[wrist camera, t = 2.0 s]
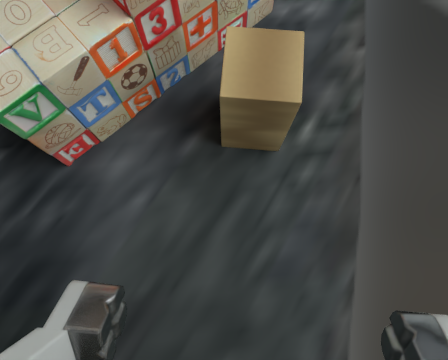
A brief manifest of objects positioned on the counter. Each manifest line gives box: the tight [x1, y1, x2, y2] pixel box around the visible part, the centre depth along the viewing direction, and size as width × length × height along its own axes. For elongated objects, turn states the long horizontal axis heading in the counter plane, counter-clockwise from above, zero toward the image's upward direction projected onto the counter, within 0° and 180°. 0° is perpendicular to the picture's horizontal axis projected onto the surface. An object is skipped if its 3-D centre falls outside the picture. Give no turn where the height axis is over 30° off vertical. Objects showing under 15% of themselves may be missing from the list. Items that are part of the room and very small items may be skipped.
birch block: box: [220, 26, 304, 151], centre depth 23 cm, size 4×4×9 cm
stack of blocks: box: [0, 0, 274, 166], centre depth 22 cm, size 21×6×12 cm, turn 131°
